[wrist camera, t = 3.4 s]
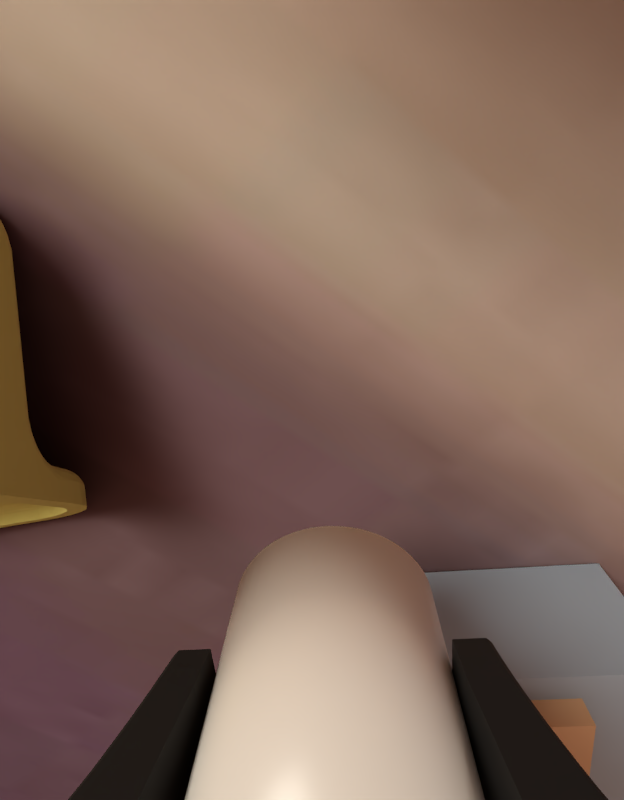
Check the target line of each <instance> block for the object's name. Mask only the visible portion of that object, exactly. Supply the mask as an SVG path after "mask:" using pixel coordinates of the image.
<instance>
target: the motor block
mask: <svg viewBox="0 0 624 800" xmlns="http://www.w3.org/2000/svg"><path fill="white" fill-rule="evenodd" d="M425 575H426V577H427V579H428V581H429V584H430V587H431V591H432V594H433V598H434V602H435V606H436V610H437V614H438V618H439V622H440V626H441V630H442V633H443V637H444V641H445V645H446V649H447V653H448V657H449V661H450V665H451V669H452V639H470V638H487V639H488V640H489V641H491V642H492V643H493V645H494V647H495V648H496V650H497V651H498V653H499V655H500V656H501V658H502V659H503V661H504V662H505V664H506V665H507V667H508V668H509V670H510V671H511V673H512V674H513V676H514V677H515V679H516V680H517V682H518V683H519V684H520V686H521V687H522V689H523V690H524V692H525V693H526V694H527V696H528V697H529V699H530V700H531V701H532V703H533V704H534V706H535V707H536V708H537V710H538V711H539V712H540V714H541V715H542V716H543V718H544V719H545V720H546V722H547V723H548V725H549V726H550V727H551V728H552V730H553V731H554V732H555V734H556V735H557V736H558V737H559V739H560V740H561V741H562V743H563V744H564V745H565V746H566V748H567V749H568V750H569V752H570V753H571V754H572V755H573V757H574V758H575V759H576V761H577V762H578V763H579V764H580V766H581V767H582V768H583V769H584V771H585V772H586V773H587V774H588V776H589V777H590V778H591V779H592V780H593V782H594V783H595V784H596V785H597V787H598V788H599V789H600V790H601V791H602V793H603V794H604V795H605V796H606V797H607V798H608V800H624V596H623V595H622V594H621V592H620V591H619V590H618V588H617V587H616V586H615V585H614V583H613V582H612V581H611V579H610V578H609V577H608V575H607V574H606V573H605V571H604V570H603V569H602V567H601V566H600V565H599V563H598V564H579V565H560V566H542V567H523V568H504V569H485V570H467V571H448V572H429V573H425Z"/></svg>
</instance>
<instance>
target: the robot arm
mask: <svg viewBox="0 0 624 800" xmlns="http://www.w3.org/2000/svg"><path fill="white" fill-rule="evenodd" d="M452 673H453V677H454V680H455V684H456V688H457V692H458V696H459V700H460V704H461V708H462V712H463V716H464V720H465V723H466V727H467V731H468V735H469V739H470V743H471V747H472V751H473V755H474V759H475V763H476V766H477V770H478V774H479V778H480V782H481V786H482V790H483V794H484V798H485V800H608V798H607V797H606V796H605V795H604V794H603V793H602V791H601V790H600V789H599V788H598V787H597V785H596V784H595V783H594V782H593V780H592V779H591V778H590V777H589V776H588V774H587V773H586V772H585V771H584V769H583V768H582V767H581V766H580V764H579V763H578V762H577V761H576V759H575V758H574V757H573V755H572V754H571V753H570V752H569V750H568V749H567V748H566V746H565V745H564V744H563V743H562V741H561V740H560V739H559V737H558V736H557V735H556V734H555V732H554V731H553V730H552V728H551V727H550V726H549V725H548V723H547V722H546V720H545V719H544V718H543V716H542V715H541V714H540V712H539V711H538V710H537V708H536V707H535V706H534V704H533V703H532V701H531V700H530V699H529V697H528V696H527V694H526V693H525V692H524V690H523V689H522V687H521V686H520V684H519V683H518V682H517V680H516V679H515V677H514V676H513V674H512V673H511V671H510V670H509V668H508V667H507V665H506V664H505V662H504V661H503V659H502V658H501V656H500V655H499V653H498V651H497V650H496V648H495V647H494V645H493V643H492V642H491V641H489V640H488V639H487V638H470V639H452ZM215 677H216V673H215V668H214V663H213V659H212V654H211V649H202V650H179V651H178V652H177V653H176V654H175V655H174V657H173V658H172V659H171V661H170V662H169V664H168V665H167V667H166V668H165V670H164V671H163V673H162V674H161V675H160V677H159V678H158V680H157V681H156V683H155V684H154V686H153V687H152V689H151V690H150V691H149V693H148V694H147V696H146V697H145V699H144V700H143V701H142V703H141V704H140V706H139V707H138V708H137V710H136V711H135V713H134V714H133V715H132V717H131V718H130V720H129V721H128V722H127V724H126V725H125V726H124V728H123V729H122V730H121V732H120V733H119V735H118V736H117V737H116V739H115V740H114V741H113V743H112V744H111V745H110V747H109V748H108V749H107V751H106V752H105V753H104V755H103V756H102V757H101V759H100V760H99V761H98V763H97V764H96V765H95V767H94V768H93V769H92V771H91V772H90V773H89V774H88V776H87V777H86V778H85V779H84V781H83V782H82V783H81V784H80V786H79V787H78V788H77V789H76V791H75V792H74V793H73V794H72V796H71V797H70V798H69V799H68V800H184V799H185V795H186V791H187V787H188V783H189V779H190V775H191V771H192V767H193V764H194V760H195V756H196V752H197V748H198V744H199V740H200V736H201V732H202V728H203V724H204V720H205V716H206V712H207V708H208V704H209V700H210V696H211V693H212V689H213V685H214V681H215Z"/></svg>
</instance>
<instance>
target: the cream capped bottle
mask: <svg viewBox="0 0 624 800" xmlns="http://www.w3.org/2000/svg"><path fill="white" fill-rule="evenodd" d="M184 800H485V798H484V794H483V790H482V786H481V782H480V778H479V774H478V770H477V766H476V763H475V759H474V755H473V751H472V747H471V743H470V739H469V735H468V731H467V727H466V723H465V720H464V716H463V712H462V708H461V704H460V700H459V696H458V692H457V688H456V684H455V680H454V677H453V673H452V669H451V665H450V661H449V657H448V653H447V649H446V645H445V641H444V637H443V633H442V630H441V626H440V622H439V618H438V614H437V610H436V606H435V602H434V598H433V594H432V591H431V587H430V584H429V581H428V579H427V577H426V575H425V573H424V572H423V570H422V569H421V567H420V565H419V564H418V563H417V562H416V561H415V560H414V558H413V557H412V556H411V555H410V554H408V553H407V552H406V551H405V550H404V549H403V548H401V547H400V546H398V545H397V544H395V543H394V542H392V541H390V540H388V539H386V538H384V537H382V536H380V535H378V534H375V533H372V532H369V531H366V530H362V529H357V528H352V527H344V526H322V527H313V528H308V529H304V530H300V531H297V532H294V533H291V534H288V535H286V536H284V537H282V538H280V539H278V540H276V541H274V542H273V543H271V544H270V545H268V546H267V547H265V548H264V549H263V550H262V551H261V552H260V553H259V554H257V555H256V556H255V558H254V559H253V560H252V561H251V562H250V564H249V565H248V567H247V568H246V570H245V572H244V573H243V575H242V578H241V580H240V583H239V586H238V590H237V594H236V598H235V602H234V606H233V610H232V614H231V618H230V622H229V626H228V629H227V633H226V637H225V641H224V645H223V649H222V653H221V657H220V661H219V665H218V669H217V673H216V677H215V681H214V685H213V689H212V693H211V696H210V700H209V704H208V708H207V712H206V716H205V720H204V724H203V728H202V732H201V736H200V740H199V744H198V748H197V752H196V756H195V760H194V764H193V767H192V771H191V775H190V779H189V783H188V787H187V791H186V795H185V799H184Z"/></svg>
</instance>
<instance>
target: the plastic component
mask: <svg viewBox="0 0 624 800" xmlns="http://www.w3.org/2000/svg"><path fill="white" fill-rule="evenodd" d="M86 508H87V502H86V493H85V486H84V483H83V481H82V480H81V479H80V477H79V476H78V475H76V474H75V473H73V472H72V471H69V470H67V469H63V468H59V467H55V466H51V465H50V464H49V463H48V462H47V461H46V460H45V459H44V458H43V456H42V455H41V453H40V451H39V449H38V447H37V445H36V443H35V440H34V437H33V434H32V431H31V426H30V422H29V417H28V407H27V397H26V387H25V377H24V367H23V357H22V347H21V337H20V327H19V317H18V307H17V297H16V287H15V277H14V267H13V257H12V249H11V246H10V242H9V238H8V235H7V233H6V230H5V228H4V226H3V224H2V222H1V220H0V528H2V527H8V526H14V525H20V524H26V523H33V522H39V521H45V520H51V519H56V518H60V517H65V516H70V515H73V514H76V513H80V512H82V511H84V510H86Z"/></svg>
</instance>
